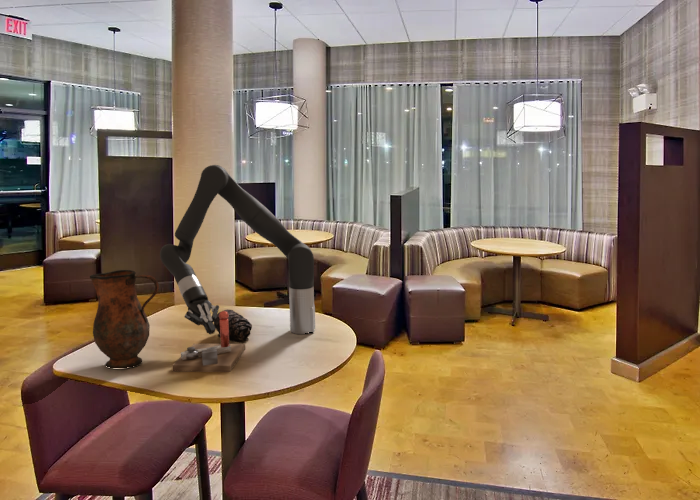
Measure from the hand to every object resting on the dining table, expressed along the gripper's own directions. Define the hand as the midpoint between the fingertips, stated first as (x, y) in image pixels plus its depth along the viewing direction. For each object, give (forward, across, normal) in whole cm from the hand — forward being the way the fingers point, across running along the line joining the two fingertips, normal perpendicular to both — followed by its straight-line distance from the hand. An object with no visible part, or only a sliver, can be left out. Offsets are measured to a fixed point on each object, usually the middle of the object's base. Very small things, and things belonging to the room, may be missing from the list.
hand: (212, 332), depth 181 cm
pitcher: (-2, -24, +12) cm, 27 cm away
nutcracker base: (+9, -4, +1) cm, 10 cm away
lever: (+7, -6, -1) cm, 10 cm away
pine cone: (-1, +14, +11) cm, 18 cm away
